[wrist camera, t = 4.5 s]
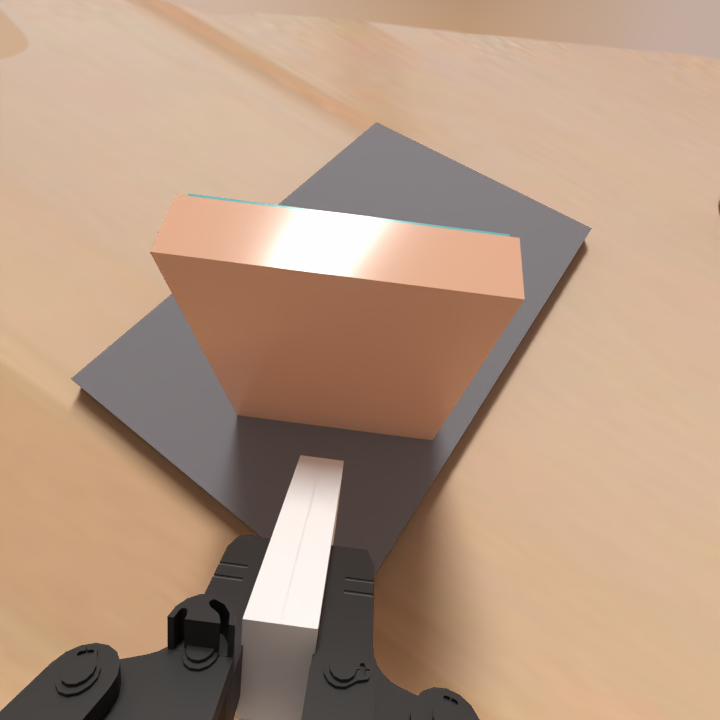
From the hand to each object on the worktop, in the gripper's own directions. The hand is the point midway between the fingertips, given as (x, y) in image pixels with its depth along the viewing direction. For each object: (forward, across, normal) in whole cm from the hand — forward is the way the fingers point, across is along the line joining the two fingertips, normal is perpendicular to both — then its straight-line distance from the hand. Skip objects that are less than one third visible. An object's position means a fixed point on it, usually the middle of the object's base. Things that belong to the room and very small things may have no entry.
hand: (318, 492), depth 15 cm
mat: (+14, +1, +5) cm, 15 cm away
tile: (+8, 0, 0) cm, 8 cm away
